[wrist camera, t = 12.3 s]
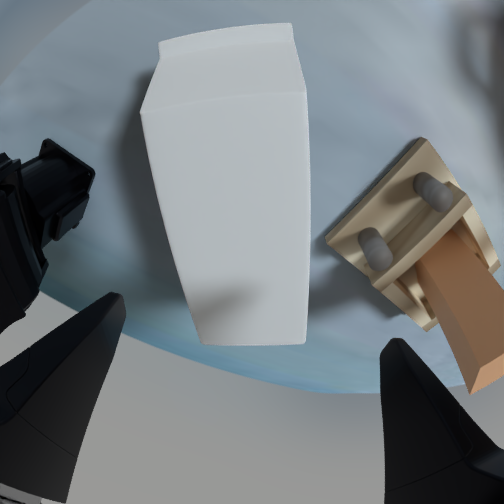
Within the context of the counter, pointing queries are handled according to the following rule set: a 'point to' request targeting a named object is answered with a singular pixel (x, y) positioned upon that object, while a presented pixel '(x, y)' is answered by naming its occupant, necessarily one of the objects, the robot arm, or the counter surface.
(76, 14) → the counter surface
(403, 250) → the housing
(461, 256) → the block
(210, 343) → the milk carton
